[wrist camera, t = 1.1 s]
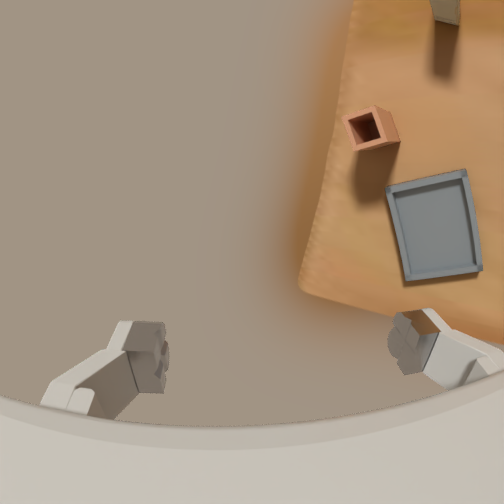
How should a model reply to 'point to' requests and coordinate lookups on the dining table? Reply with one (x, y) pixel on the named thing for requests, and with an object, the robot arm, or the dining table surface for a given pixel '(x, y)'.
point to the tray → (436, 225)
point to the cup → (370, 128)
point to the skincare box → (446, 10)
